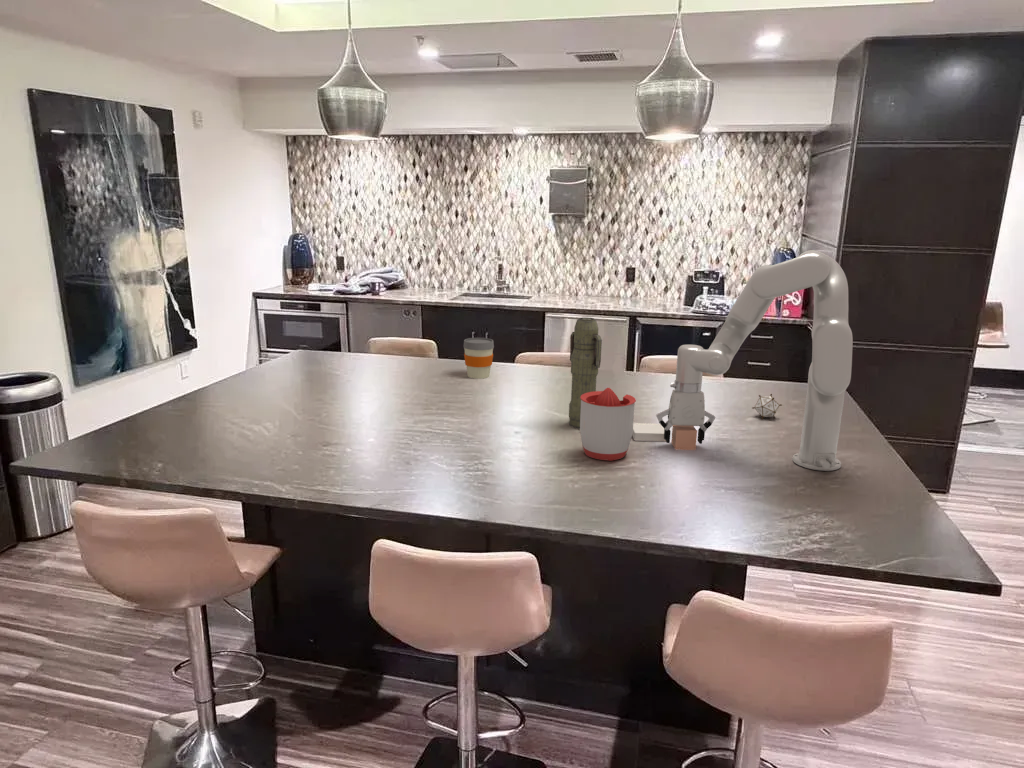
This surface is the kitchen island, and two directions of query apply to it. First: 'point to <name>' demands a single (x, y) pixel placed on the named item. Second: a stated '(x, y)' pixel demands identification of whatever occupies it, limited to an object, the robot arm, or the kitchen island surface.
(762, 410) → the game die
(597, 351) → the thermos
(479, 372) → the reusable coffee cup
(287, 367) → the kitchen island surface
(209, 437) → the kitchen island surface
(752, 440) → the kitchen island surface
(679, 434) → the cube
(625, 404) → the citrus juicer
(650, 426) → the block
